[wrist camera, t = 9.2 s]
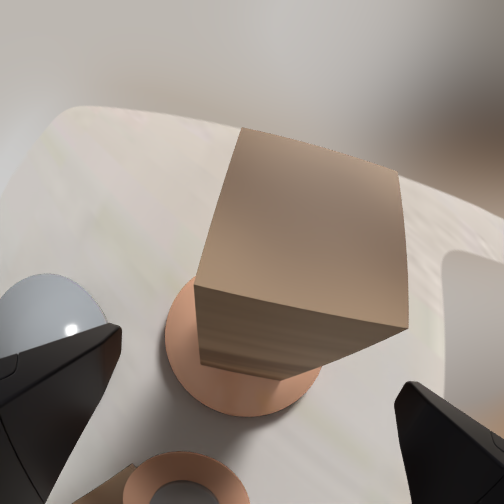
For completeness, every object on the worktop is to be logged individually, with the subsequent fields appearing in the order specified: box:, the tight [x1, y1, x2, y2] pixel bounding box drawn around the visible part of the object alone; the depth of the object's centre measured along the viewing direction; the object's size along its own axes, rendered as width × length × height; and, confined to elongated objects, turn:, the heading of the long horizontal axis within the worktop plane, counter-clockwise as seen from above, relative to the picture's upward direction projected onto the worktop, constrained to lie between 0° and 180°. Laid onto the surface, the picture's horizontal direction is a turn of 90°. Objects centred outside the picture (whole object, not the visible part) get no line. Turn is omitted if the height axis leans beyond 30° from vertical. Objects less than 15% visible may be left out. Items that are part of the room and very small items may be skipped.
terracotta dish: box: [165, 276, 322, 417], centre depth 19 cm, size 10×10×1 cm
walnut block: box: [194, 128, 409, 381], centre depth 13 cm, size 5×5×13 cm
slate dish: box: [0, 274, 108, 358], centre depth 17 cm, size 10×10×1 cm
